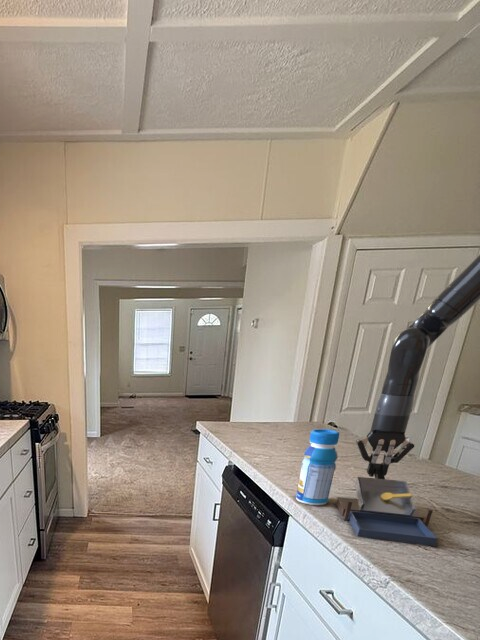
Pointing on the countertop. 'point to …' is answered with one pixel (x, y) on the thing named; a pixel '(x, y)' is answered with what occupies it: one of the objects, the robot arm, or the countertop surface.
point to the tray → (391, 528)
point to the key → (394, 496)
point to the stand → (352, 505)
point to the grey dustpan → (375, 487)
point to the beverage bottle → (318, 467)
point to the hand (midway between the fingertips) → (375, 476)
